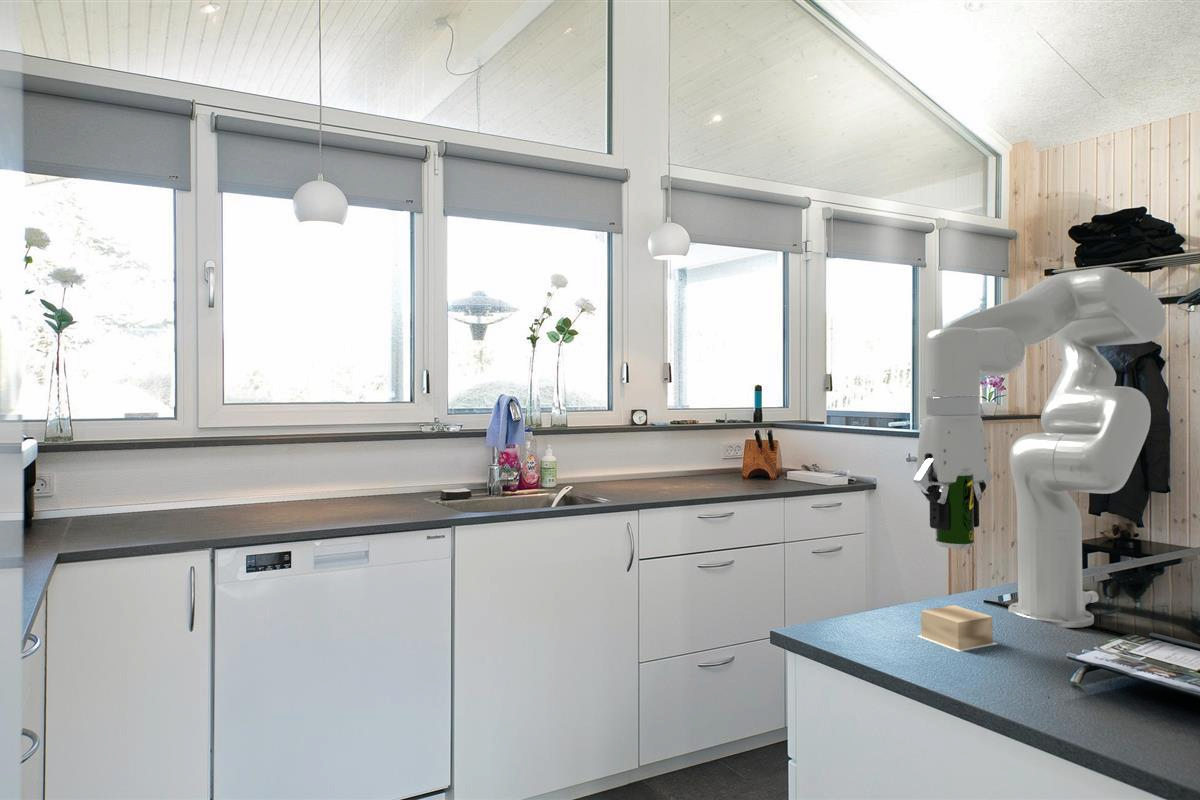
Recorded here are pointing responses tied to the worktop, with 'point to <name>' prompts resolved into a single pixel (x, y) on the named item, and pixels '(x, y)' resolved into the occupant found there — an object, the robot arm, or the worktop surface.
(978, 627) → the oak block
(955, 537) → the beer can
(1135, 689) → the worktop surface
